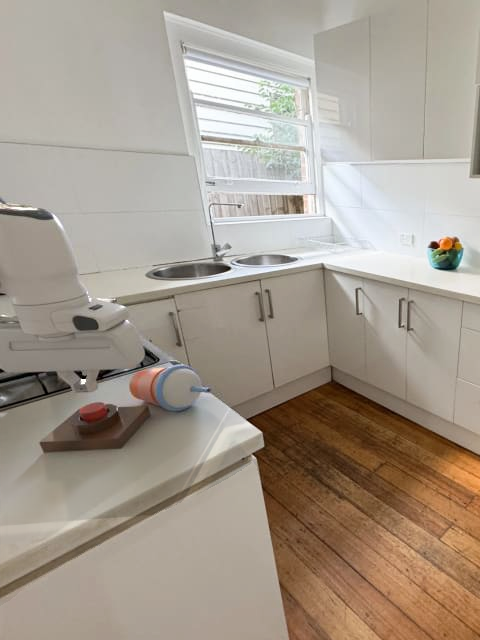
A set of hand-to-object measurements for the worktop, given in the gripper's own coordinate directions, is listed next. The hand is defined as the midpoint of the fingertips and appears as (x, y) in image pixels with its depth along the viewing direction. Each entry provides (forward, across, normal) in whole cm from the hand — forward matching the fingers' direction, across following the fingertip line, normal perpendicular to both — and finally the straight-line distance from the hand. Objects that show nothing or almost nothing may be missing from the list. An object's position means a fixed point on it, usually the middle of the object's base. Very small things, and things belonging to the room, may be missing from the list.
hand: (86, 390), depth 65 cm
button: (+5, 0, 0) cm, 5 cm away
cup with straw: (+6, +2, +12) cm, 13 cm away
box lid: (-5, -19, +29) cm, 35 cm away
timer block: (+9, 0, 0) cm, 9 cm away
